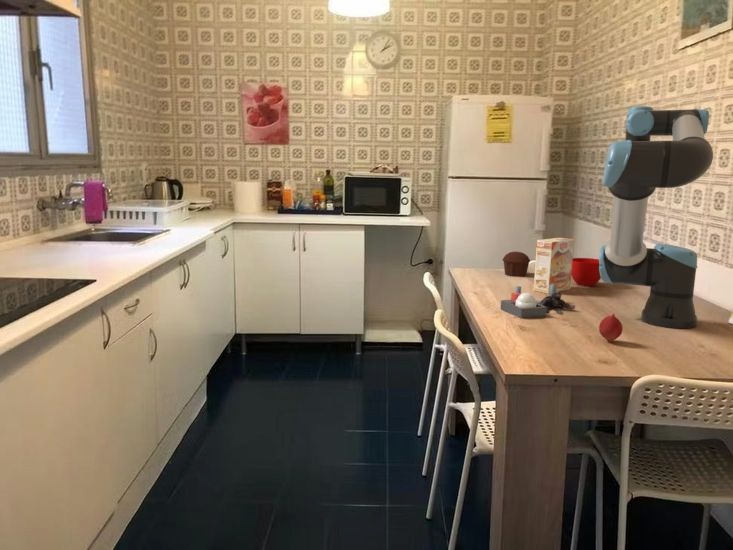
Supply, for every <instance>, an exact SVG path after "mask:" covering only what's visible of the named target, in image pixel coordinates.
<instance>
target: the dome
mask: <svg viewBox="0 0 733 550" xmlns="http://www.w3.org/2000/svg"><path fill="white" fill-rule="evenodd" d="M537 301H538V300H536V298H535V296H534V295H533V294H532V293H529V292H521V295H519V296H518V298H517V300H516V306H519V307H521V308H530V307H536V304H537Z"/></svg>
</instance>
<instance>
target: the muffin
mask: <svg viewBox="0 0 733 550" xmlns="http://www.w3.org/2000/svg"><path fill="white" fill-rule="evenodd" d="M502 261H503V267H504V268H503V269H504V275H506V276H507V277H513V278H514V277H515V278H522V277H526V276H527V274H528V270H529V265H530V262H531V260H530V257H529V256H528V254H526V253H524V252H521V251H511V252H508V253H506V254H505V255H504V256H503V258H502Z"/></svg>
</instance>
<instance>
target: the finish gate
mask: <svg viewBox="0 0 733 550" xmlns="http://www.w3.org/2000/svg"><path fill="white" fill-rule="evenodd" d="M554 292H556V285H555V284H551V289H550V294H549V296H552V294H553V293H554ZM514 293H520V294H522V286H518V285H516V286H515V291H514ZM536 301H537V304H540V302H541V301H542V300H536Z"/></svg>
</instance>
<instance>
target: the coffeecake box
mask: <svg viewBox="0 0 733 550" xmlns="http://www.w3.org/2000/svg"><path fill="white" fill-rule="evenodd" d="M574 244H575V239H573V238H566V237H565V238H564V237H553V238H545V239H544V238H543V239H537V240H536V251H535V253H536V254H535V264H534V265H535V266H534V277H533V278H534V279H533V292H539V293H543V294H548V295H550V289H551V284H555V285H556V292H562V291H568V290H571V280H572V275H571V271H572V259H573V258H574V257H573V256H574V248H575V247H574V246H575V245H574Z"/></svg>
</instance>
